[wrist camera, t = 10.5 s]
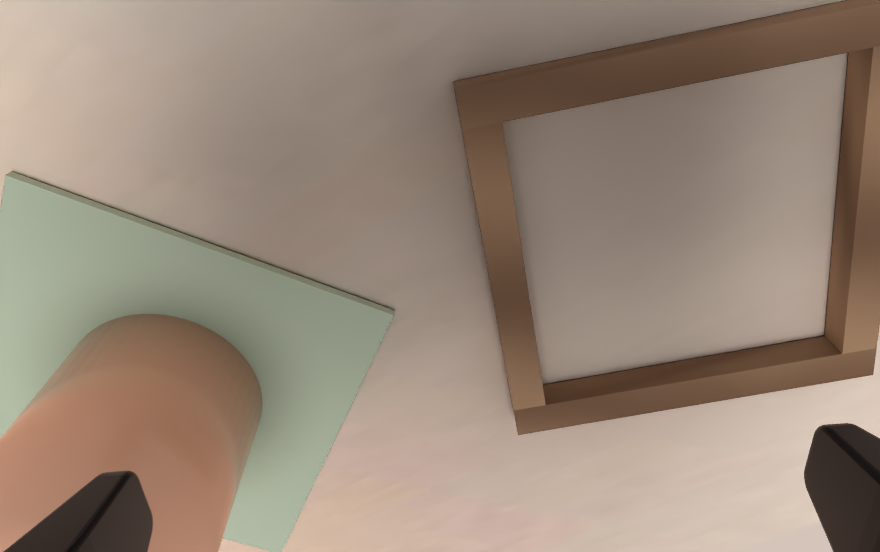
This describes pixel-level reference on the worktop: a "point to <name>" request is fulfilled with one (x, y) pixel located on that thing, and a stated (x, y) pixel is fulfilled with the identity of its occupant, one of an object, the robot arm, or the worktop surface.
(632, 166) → the worktop surface
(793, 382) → the walnut collar
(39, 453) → the peach round cylinder
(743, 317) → the worktop surface
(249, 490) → the sage mat
